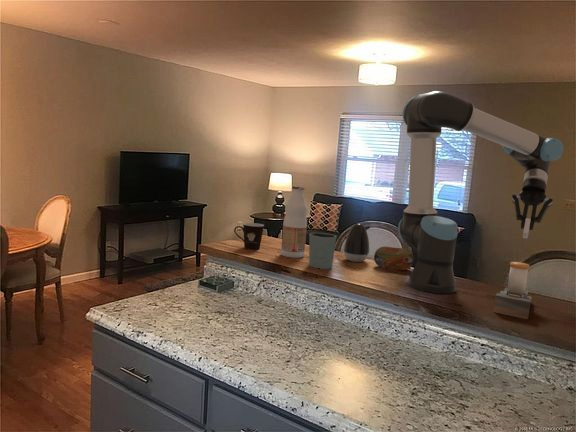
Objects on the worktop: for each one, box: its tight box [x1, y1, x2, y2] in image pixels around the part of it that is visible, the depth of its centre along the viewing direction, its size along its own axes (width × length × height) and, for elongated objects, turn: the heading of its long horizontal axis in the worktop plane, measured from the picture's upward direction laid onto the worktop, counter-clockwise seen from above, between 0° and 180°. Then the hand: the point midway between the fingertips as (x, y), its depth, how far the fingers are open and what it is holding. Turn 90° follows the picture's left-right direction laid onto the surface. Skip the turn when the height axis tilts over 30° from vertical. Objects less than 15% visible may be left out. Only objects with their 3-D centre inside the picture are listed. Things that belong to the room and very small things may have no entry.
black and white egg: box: [343, 222, 371, 263], centre depth 192 cm, size 10×10×15 cm
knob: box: [506, 261, 531, 298], centre depth 149 cm, size 5×5×10 cm
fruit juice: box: [280, 185, 309, 259], centre depth 191 cm, size 9×9×28 cm
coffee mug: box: [233, 222, 265, 251], centre depth 201 cm, size 12×9×10 cm
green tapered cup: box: [308, 232, 337, 270], centre depth 177 cm, size 10×10×12 cm
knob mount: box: [493, 287, 532, 320], centre depth 145 cm, size 20×9×5 cm, turn 151°
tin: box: [373, 245, 415, 271], centre depth 185 cm, size 15×3×8 cm, turn 81°
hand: (525, 235), depth 159 cm, fingers closed
